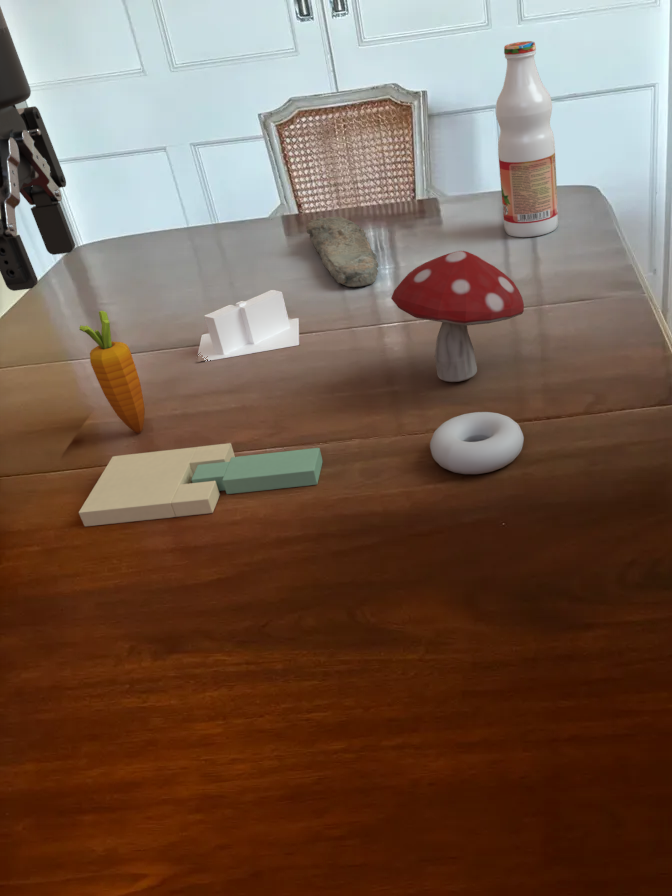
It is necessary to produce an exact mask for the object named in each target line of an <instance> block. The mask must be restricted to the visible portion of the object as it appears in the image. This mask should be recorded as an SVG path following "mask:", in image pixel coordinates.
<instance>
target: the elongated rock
mask: <svg viewBox="0 0 672 896" xmlns="http://www.w3.org/2000/svg"><path fill="white" fill-rule="evenodd" d="M305 230H306V233H307V234H309V239H310V240H311V244H313V246H314V247H313V248H314V249H315V253H318V254H319V256H320V258H321V261H322V265H323V266H324V267H325V269H326V270H328V272H329V274H330V276H331V277H333V278H334V280H335V281H336V282H337V284H342V286H346V287H348V288H349V287H351V288H355V287H356V288H357V287H364V286H369V285H372V284H374V283H375V282H376V280H377V276H378V273H379V270H378V268H379V262H378V260H377V257H378V256H377V254H376V253H375V252H374V251H373V250H372V248H371V244H370V241H369V240H368V237H367V236H366V234H367V233H366V231H365V230H364V229H363V228H361V227H360V226H359V224H357V223H355V222H354V221H351V220H350V219H349V218H346V217H342V216H329V217H316V219H310V220H309V222H308V223H307V224H306V225H305Z"/></svg>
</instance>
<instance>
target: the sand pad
mask: <svg viewBox="0 0 672 896" xmlns="http://www.w3.org/2000/svg"><path fill="white" fill-rule="evenodd" d="M235 455H236V454H235V452H234V449H233V446H232V443H231V442H229V443H228V442H227V443H220V444H219V443H218V444H211V445H203V446H202V445H200V446H194V447H193V446H192V447H185V448H183V447H182V448H176V449H167V450H166V449H165V450H158V451H157V450H156V451H149V452H139V453H138V452H137V453H132V454H131V453H130V454H121V455H113V456H112V457H111V458H110V460H109V462H108V463H107V465H106V467H105V468H104V470H103V471H102V473H101V475H100V477H99V478H98V480H97V481H96V483H95V485H94V486H93V488H92V489H91V491H90V493H89V495H88V496H87V498H86V500H85V501H84V503H83V504H82V506H81V508H80V509H79V511H78V515H79V517H80V519H81V522H82V524H83V526H84V528H85V527H94V526H95V527H96V526H103V525H113V524H123V523H132V522H141V521H150V520H151V521H152V520H161V519H170V518H178V517H188V516H197V515H199V516H200V515H208V514H213V513H214V511H215V508H216V506H217V503H218V501H219V499H220V496H221V493H220V491H219V490H218V487H217V484H216V481H208V482H199V483H192V480H191V479H192V477H193V475H194V472H195V470H196V468H197V466H198V465H202V464H211V463H220V462H230V459H231V457H236V456H235Z"/></svg>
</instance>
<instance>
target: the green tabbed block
mask: <svg viewBox="0 0 672 896" xmlns="http://www.w3.org/2000/svg"><path fill="white" fill-rule="evenodd" d="M323 461H324V460H323V456H322V453H321V449H320V447H311V448H303V449H302V448H301V449H295V450H286V451H284V450H283V451H275V452H267V453H266V452H265V453H258V454H248V455H240V456H235V457H231V459H230V462H220V463H211V464H202V465H198V466H197V468H196V470H195V472H194V475H193V477H192V479H191V480H192V482H191V483H199V482H208V481H216V484H217V487H218V490H219V492H223V491H225V493H226V495H233V494H242V493H251V492H259V491H260V492H261V491H272V490H281V489H289V488H299V487H309V486H317V485H318V483H319V480H320V475H321V470H322V466H323Z"/></svg>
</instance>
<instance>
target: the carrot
mask: <svg viewBox="0 0 672 896" xmlns="http://www.w3.org/2000/svg"><path fill="white" fill-rule="evenodd" d="M98 317H99V321H100V324H101V332H100V331H99V329H95V331H94V330H93V328H91V327H90V326H89V325H80V326H79V331H80V332H83V333H85V334H87V335H88V336H89V337H90V338H91V339H92V340H93V341H94V342H95V343H96V345H97V346H95V347H93V348H92V349H91V350H90V352H89V359H90V365H91V368H92V370H93V373H94V375H95V377H96V380H97V381H98V384H99V386H100V388H101V391H102V393H103V395H104V397H105V398H106V400H107V402H108V403H109V405H110V407H111V408H112V409H113V411H114V413H115V414H116V415H117V416H118V418H119V419H120V420H121V422H122V423H123V424H124V425H125V426H127V428H129V429H130V430H131V431H132V432H134V433H136V434H138V435H140V434H141V433H142V432H143V430H144V424H145V411H146V410H145V402H144V401H145V400H144V395H143V389H142V386H141V381H140V376H139V373H138V370H137V366H136V364H135V361H134V358H133V355H132V352H131V349H130V347H129V345H128V344H127V343H125V342H121V341H112V334H111V326H110V324H111V322H110V319H109V316H108V312H107V311H104V310H99V311H98Z"/></svg>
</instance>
